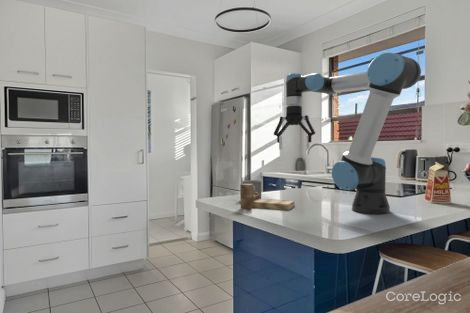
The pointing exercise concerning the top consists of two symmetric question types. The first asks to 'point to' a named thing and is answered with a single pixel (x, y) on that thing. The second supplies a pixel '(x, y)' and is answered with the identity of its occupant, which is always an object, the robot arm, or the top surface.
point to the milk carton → (438, 185)
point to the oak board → (274, 204)
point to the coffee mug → (256, 185)
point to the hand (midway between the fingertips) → (294, 149)
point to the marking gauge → (248, 196)
